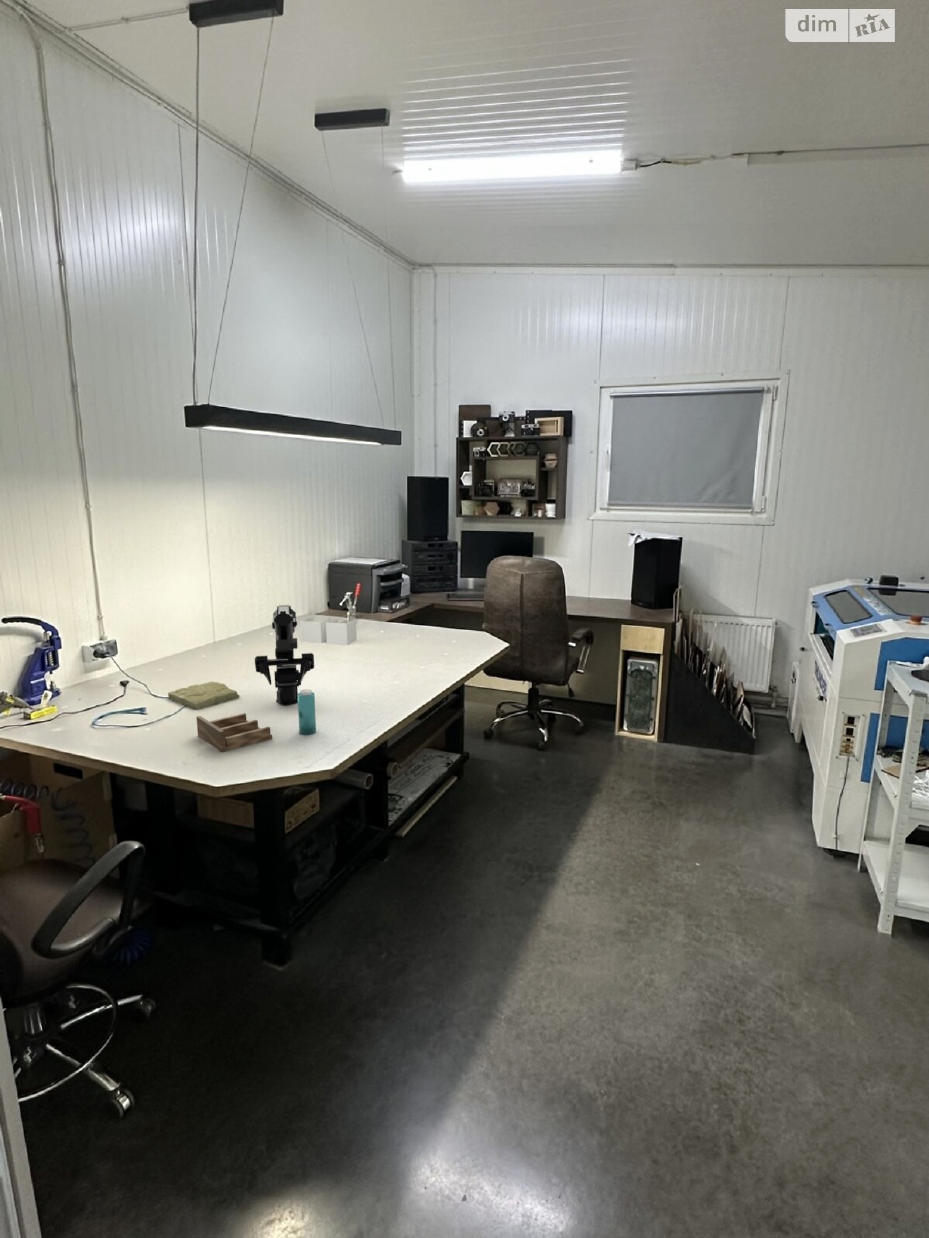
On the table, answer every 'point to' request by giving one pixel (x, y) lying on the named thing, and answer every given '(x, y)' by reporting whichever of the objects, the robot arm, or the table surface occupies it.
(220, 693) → the decorative tile
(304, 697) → the spray can
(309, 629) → the storage container
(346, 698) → the table surface
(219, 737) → the rack
